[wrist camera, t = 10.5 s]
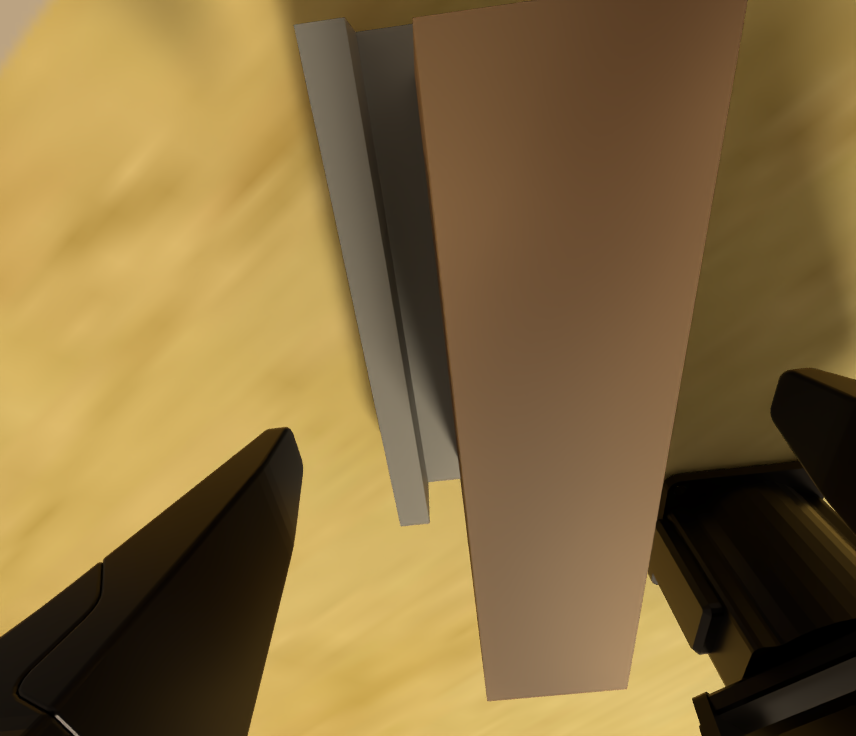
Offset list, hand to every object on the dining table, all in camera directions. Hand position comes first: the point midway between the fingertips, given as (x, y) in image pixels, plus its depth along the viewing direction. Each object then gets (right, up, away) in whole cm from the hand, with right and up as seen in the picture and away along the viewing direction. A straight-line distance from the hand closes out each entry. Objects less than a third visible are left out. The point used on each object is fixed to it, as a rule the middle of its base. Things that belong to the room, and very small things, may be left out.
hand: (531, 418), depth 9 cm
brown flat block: (0, +3, +5) cm, 6 cm away
